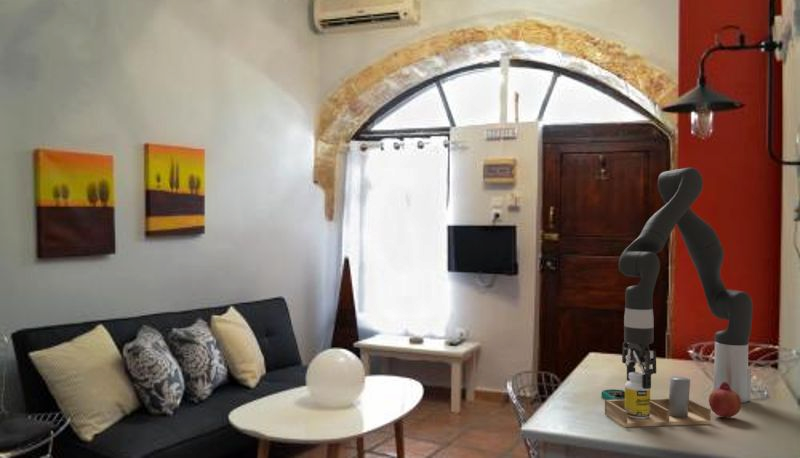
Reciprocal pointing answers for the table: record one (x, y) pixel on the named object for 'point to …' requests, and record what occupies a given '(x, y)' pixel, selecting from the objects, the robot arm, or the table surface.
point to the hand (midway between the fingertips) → (638, 384)
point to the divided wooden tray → (657, 414)
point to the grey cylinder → (679, 397)
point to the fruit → (725, 401)
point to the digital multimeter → (613, 394)
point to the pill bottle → (636, 397)
